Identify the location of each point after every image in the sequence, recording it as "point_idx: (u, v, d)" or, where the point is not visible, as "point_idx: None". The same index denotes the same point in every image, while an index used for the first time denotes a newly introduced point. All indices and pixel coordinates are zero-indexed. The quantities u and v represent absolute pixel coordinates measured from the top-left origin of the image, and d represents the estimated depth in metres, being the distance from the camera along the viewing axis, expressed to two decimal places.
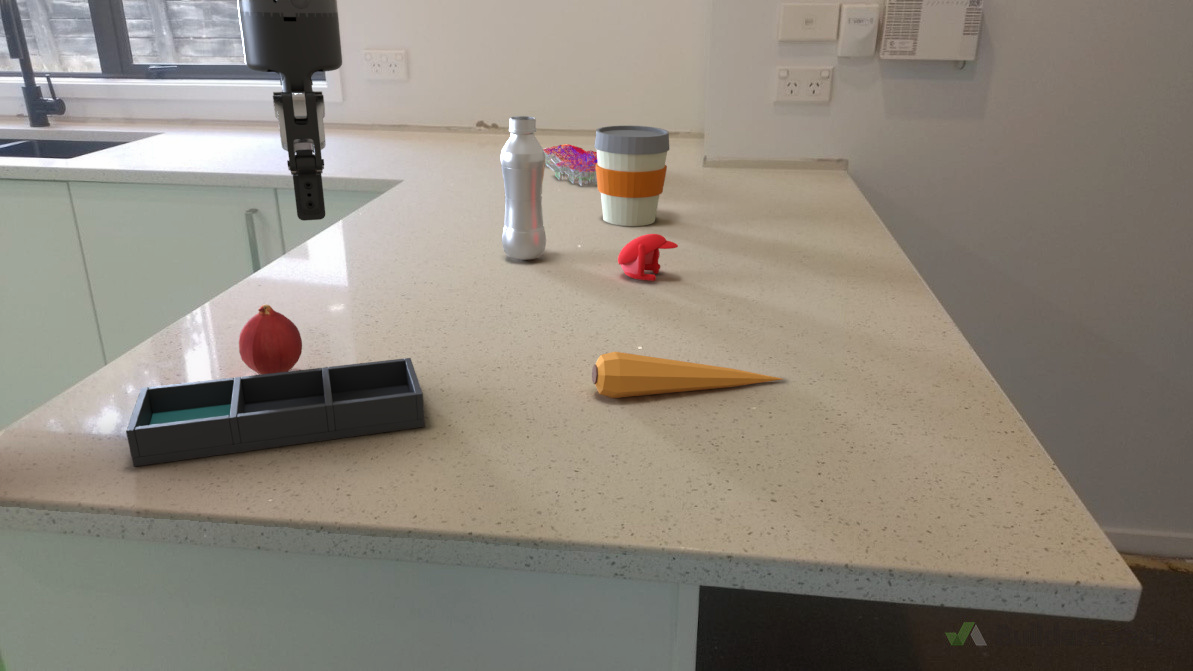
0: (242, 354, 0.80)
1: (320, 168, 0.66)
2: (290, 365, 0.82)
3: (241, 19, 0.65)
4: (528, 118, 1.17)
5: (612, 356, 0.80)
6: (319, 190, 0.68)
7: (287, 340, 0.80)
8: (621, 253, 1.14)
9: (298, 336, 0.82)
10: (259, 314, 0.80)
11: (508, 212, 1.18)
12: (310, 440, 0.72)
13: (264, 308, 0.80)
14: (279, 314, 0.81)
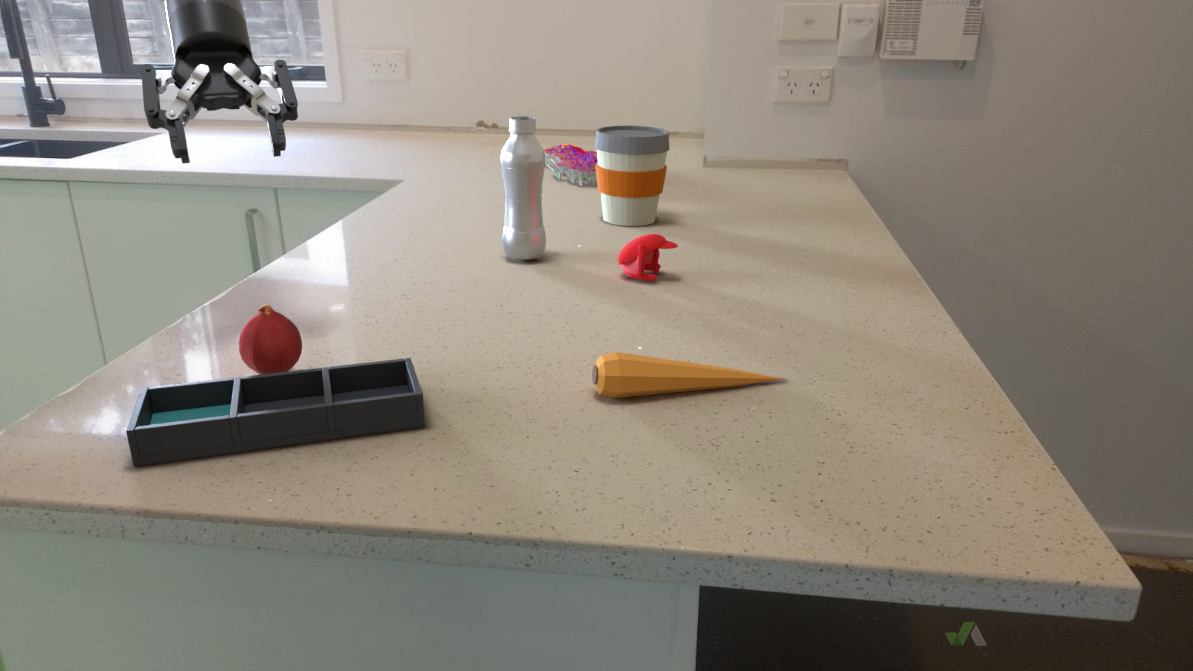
0: (242, 354, 0.80)
1: (296, 117, 0.89)
2: (290, 365, 0.82)
3: (217, 6, 0.85)
4: (528, 118, 1.17)
5: (612, 356, 0.80)
6: None
7: (287, 340, 0.80)
8: (621, 253, 1.14)
9: (298, 336, 0.82)
10: (259, 314, 0.80)
11: (508, 212, 1.18)
12: (310, 440, 0.72)
13: (264, 308, 0.80)
14: (279, 314, 0.81)
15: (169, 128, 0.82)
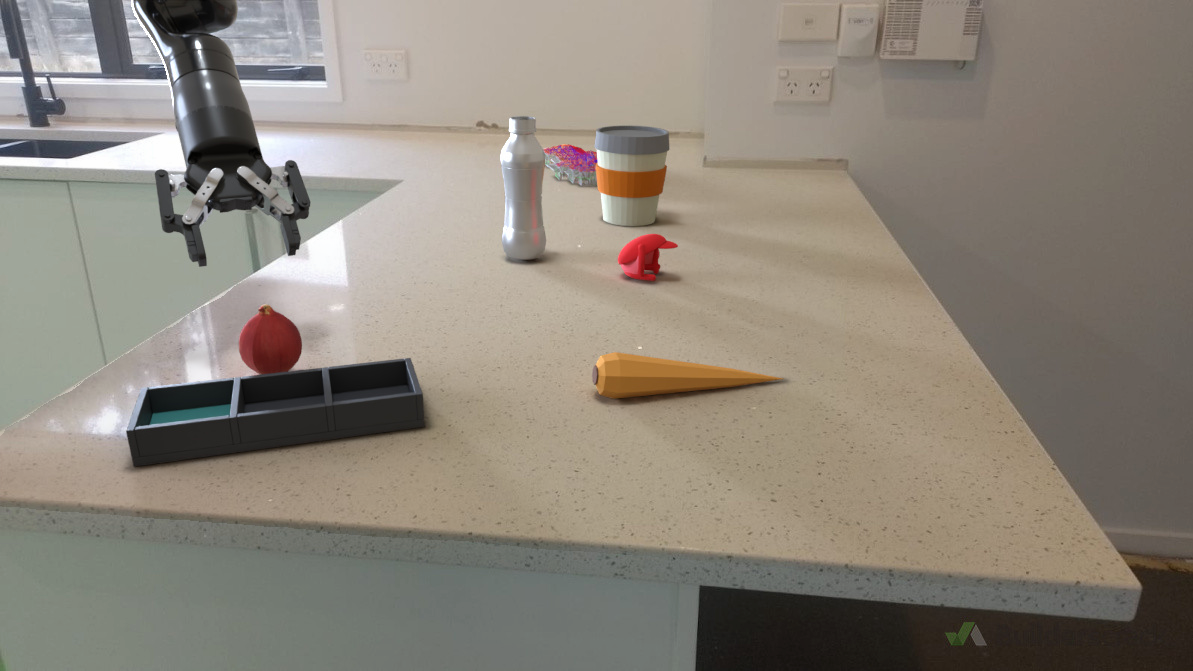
0: (242, 354, 0.80)
1: (307, 216, 0.90)
2: (290, 365, 0.82)
3: (229, 110, 0.87)
4: (528, 118, 1.17)
5: (612, 357, 0.80)
6: None
7: (287, 340, 0.80)
8: (621, 253, 1.14)
9: (298, 336, 0.82)
10: (259, 314, 0.80)
11: (508, 212, 1.18)
12: (310, 440, 0.72)
13: (264, 308, 0.80)
14: (279, 314, 0.81)
15: (186, 233, 0.82)
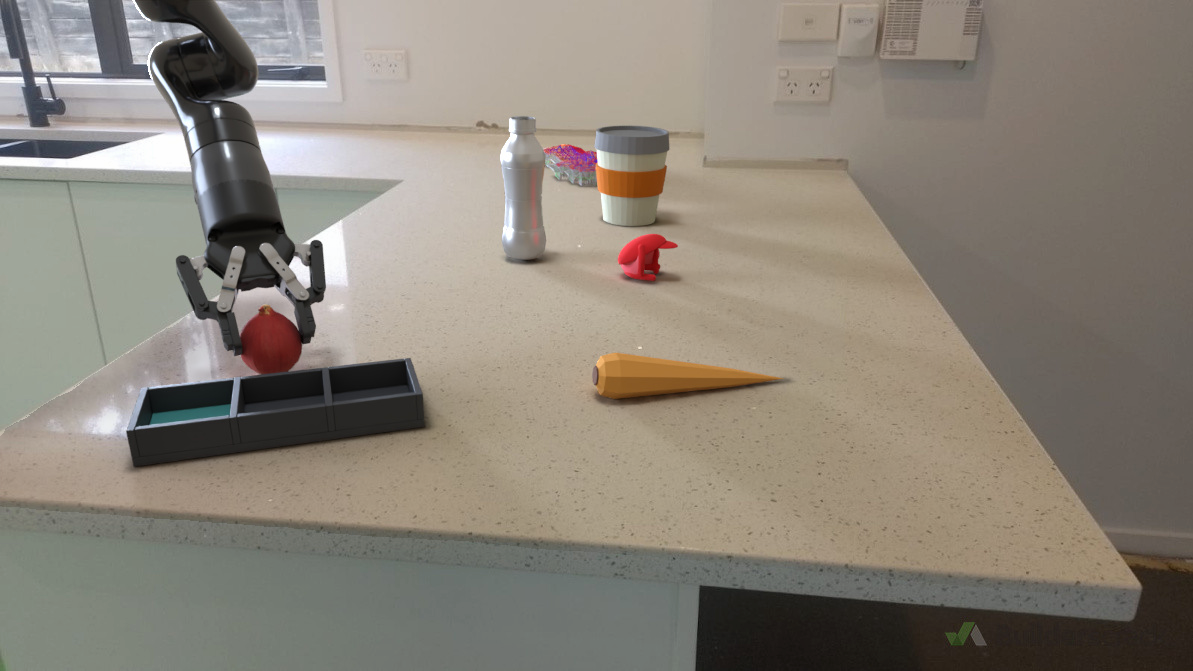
0: (242, 354, 0.80)
1: (322, 300, 0.85)
2: (290, 365, 0.82)
3: (251, 184, 0.83)
4: (528, 118, 1.17)
5: (613, 357, 0.80)
6: None
7: (287, 340, 0.80)
8: (621, 253, 1.14)
9: (298, 336, 0.82)
10: (259, 314, 0.80)
11: (508, 212, 1.18)
12: (310, 440, 0.72)
13: (264, 308, 0.80)
14: (279, 314, 0.81)
15: (221, 321, 0.79)
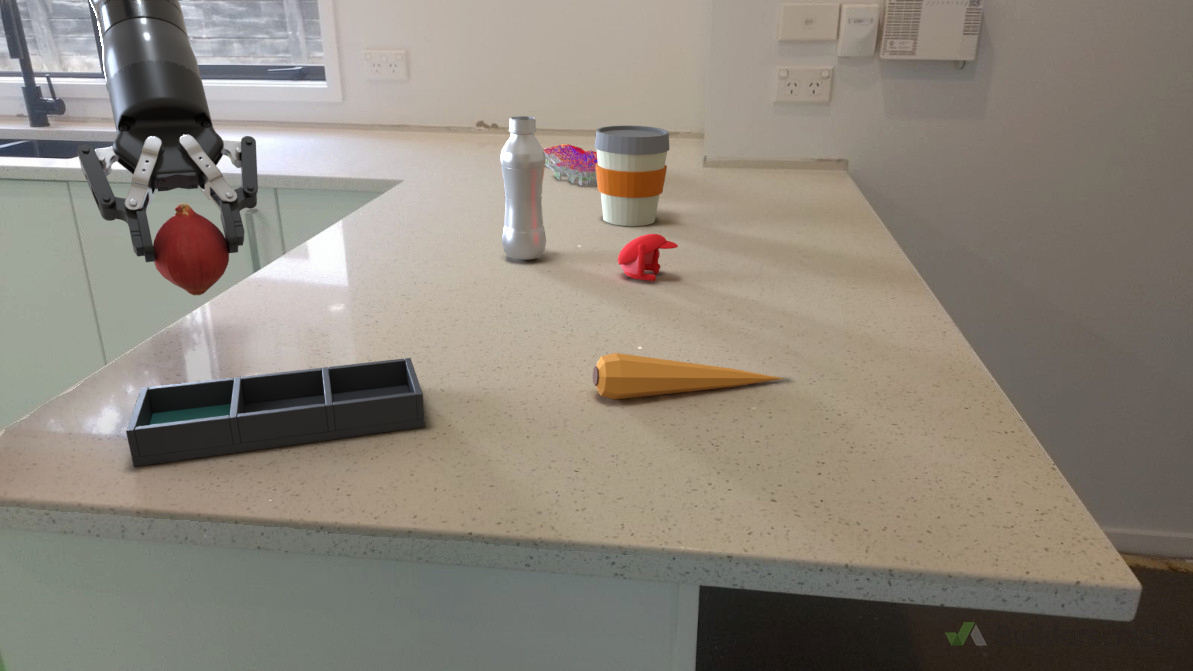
0: (156, 261, 0.68)
1: (254, 205, 0.74)
2: (213, 276, 0.70)
3: (170, 67, 0.71)
4: (528, 118, 1.17)
5: (613, 357, 0.80)
6: None
7: (209, 245, 0.69)
8: (621, 253, 1.14)
9: (223, 243, 0.70)
10: (176, 215, 0.69)
11: (508, 212, 1.18)
12: (310, 440, 0.72)
13: (182, 207, 0.68)
14: (201, 216, 0.70)
15: (129, 220, 0.67)
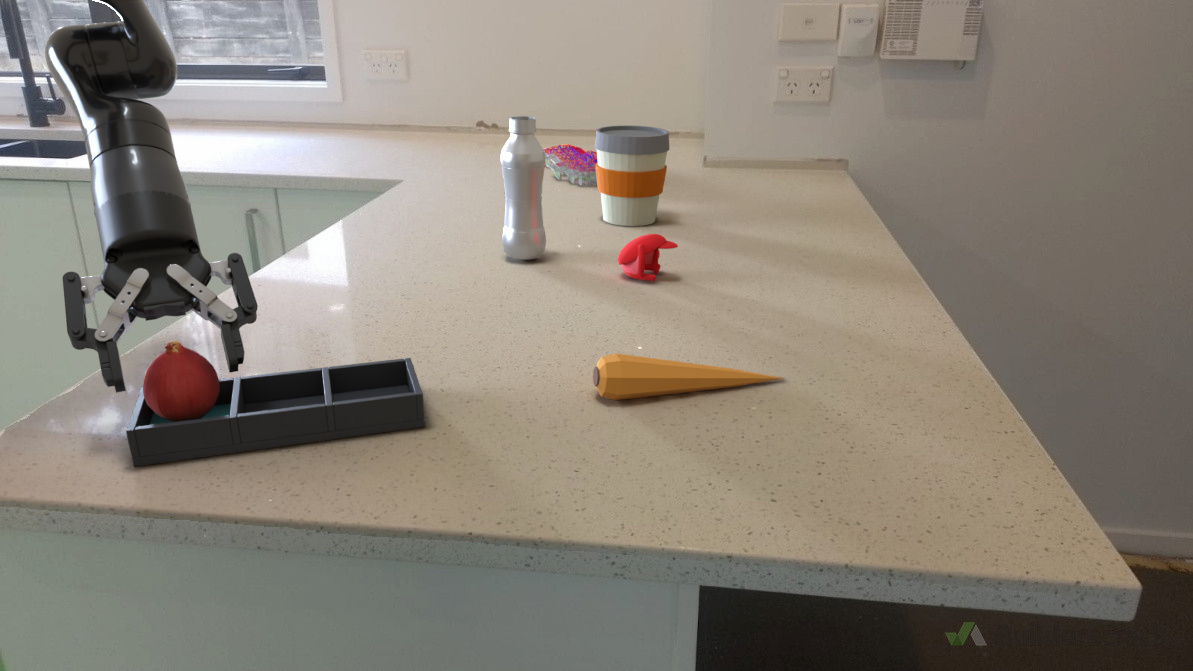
0: (146, 398, 0.69)
1: (255, 320, 0.75)
2: (204, 410, 0.71)
3: (158, 196, 0.71)
4: (528, 118, 1.17)
5: (613, 358, 0.80)
6: None
7: (198, 382, 0.69)
8: (621, 253, 1.14)
9: (213, 376, 0.71)
10: (166, 352, 0.69)
11: (508, 212, 1.18)
12: (310, 440, 0.72)
13: (171, 345, 0.69)
14: (190, 351, 0.70)
15: (99, 352, 0.67)
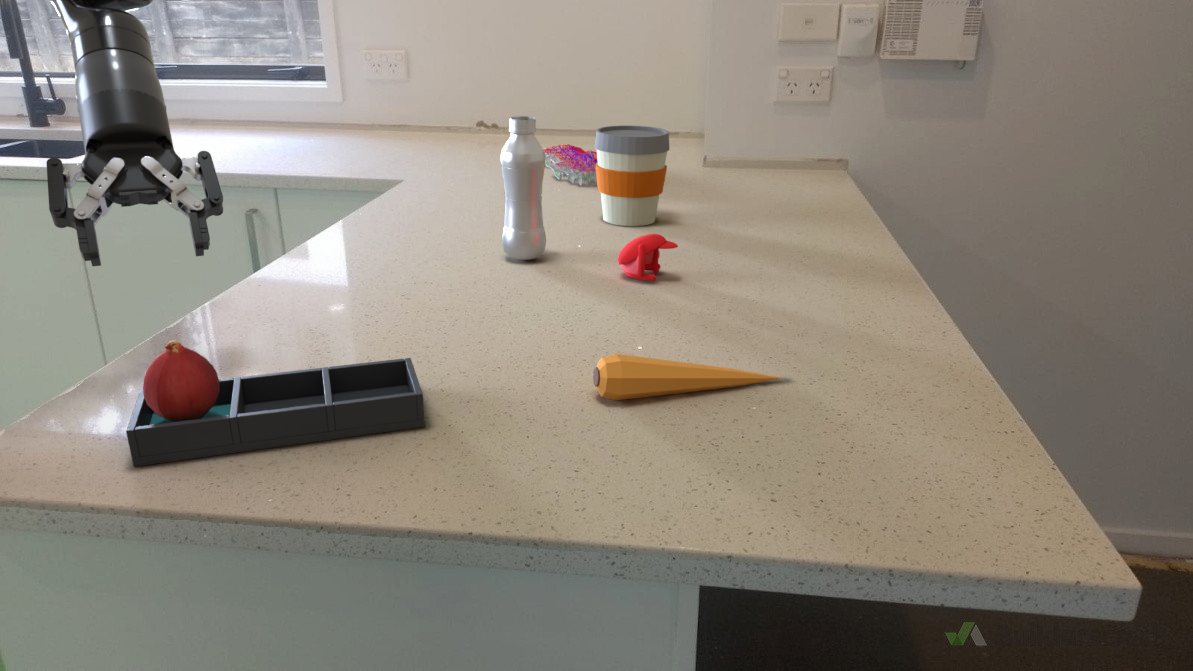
0: (146, 398, 0.69)
1: (222, 212, 0.82)
2: (204, 410, 0.71)
3: (134, 94, 0.79)
4: (528, 118, 1.17)
5: (614, 358, 0.80)
6: None
7: (198, 382, 0.69)
8: (621, 253, 1.14)
9: (213, 376, 0.71)
10: (166, 352, 0.69)
11: (508, 212, 1.18)
12: (310, 440, 0.72)
13: (171, 345, 0.69)
14: (190, 351, 0.70)
15: (78, 229, 0.75)
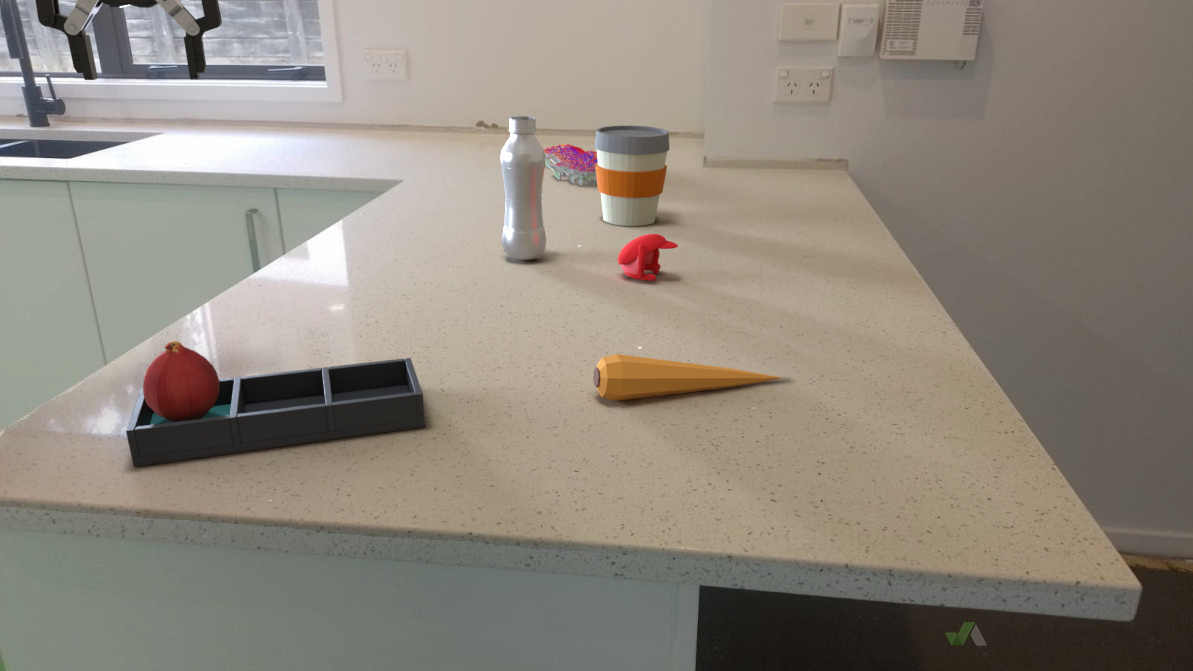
0: (146, 398, 0.69)
1: (220, 24, 0.78)
2: (204, 410, 0.71)
3: None
4: (528, 118, 1.17)
5: (614, 359, 0.80)
6: None
7: (198, 382, 0.69)
8: (621, 253, 1.14)
9: (213, 376, 0.71)
10: (166, 352, 0.69)
11: (508, 212, 1.18)
12: (310, 440, 0.72)
13: (171, 345, 0.69)
14: (190, 351, 0.70)
15: (70, 43, 0.73)
